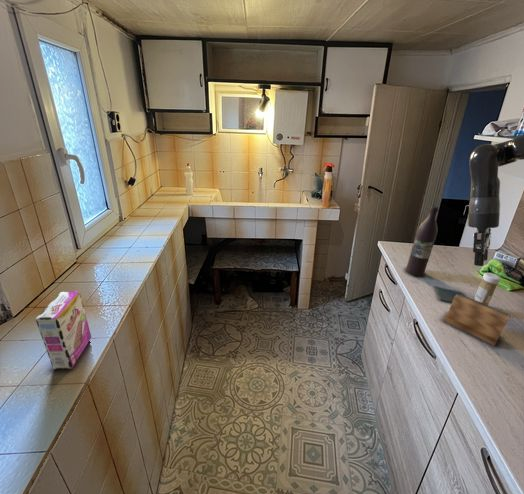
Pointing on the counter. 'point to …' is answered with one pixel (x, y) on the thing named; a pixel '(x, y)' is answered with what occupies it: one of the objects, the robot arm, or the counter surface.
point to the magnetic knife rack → (476, 318)
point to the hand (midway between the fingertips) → (480, 262)
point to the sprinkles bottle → (487, 288)
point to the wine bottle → (423, 244)
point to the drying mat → (447, 294)
